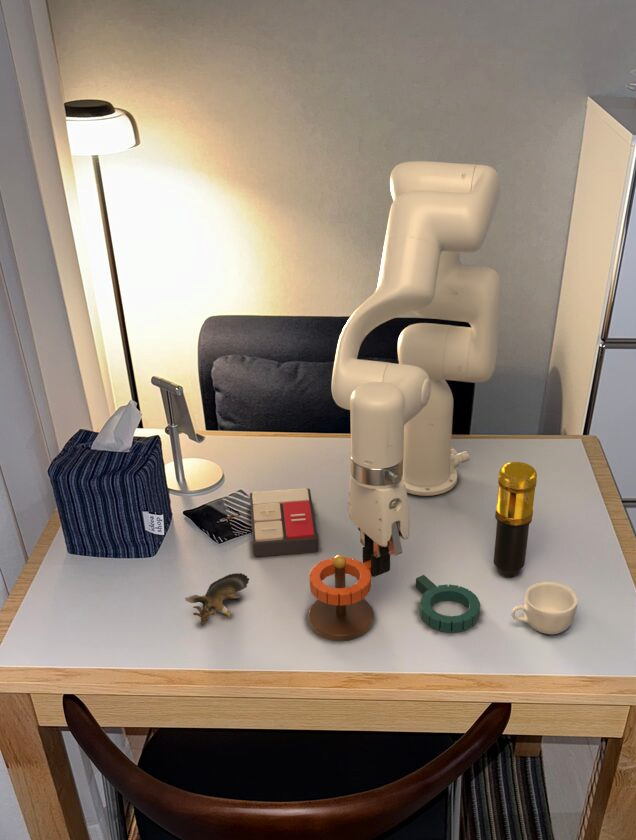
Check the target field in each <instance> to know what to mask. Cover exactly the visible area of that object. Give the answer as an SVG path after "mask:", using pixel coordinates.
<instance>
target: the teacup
mask: <svg viewBox="0 0 636 840" xmlns="http://www.w3.org/2000/svg"><path fill="white" fill-rule="evenodd" d="M578 602H579V599H578V594H577V593H576V592H575V591H574V590H573V589H572V588H571V587H569V586H568V585H565V584H563V583H559V582H555V581H540V582H536V583H534V584H532V585H530V586H529V587H528V588H527V589H526V591H525V592H524V604H520V605H516V606H514V607H513V608H512V609H511V611H510V612H511V613H510V614H511V617H512V618H513V619H514V620H516V621H519V622H523V623H524V622H525V623H528V624H529V625H530V626H531V628H533V630H535V631H537V632H539V633H541V634H545V635H557V634H561V633H564V632H565V631H566V630H567V629H568V628H569V627H571V624H572V623H573V621H574V618H575V616H576V612H577V607H578ZM518 610H522V611H523V612H524V615H523V616H517V615H515V613H516V612H517V611H518Z"/></svg>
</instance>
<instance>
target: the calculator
mask: <svg viewBox="0 0 636 840" xmlns="http://www.w3.org/2000/svg"><path fill="white" fill-rule="evenodd" d="M249 503H250V504H249V506H250V518H251V519H250V521H251V536H252V551H253V557H255V558H259V557H260V558H261V557H272V556H284V555H294V554H306V553H307V554H308V553H316V552H318V551H319V545H318V543H319V541H318V539H319V538H318V532H317V525H316V519H315V512H314V507H313V501H312V494H311V488H308V487H307V488H305V487H302V488H291V489H280V490H279V489H277V490H264V491H253V492H249Z"/></svg>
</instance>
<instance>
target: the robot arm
mask: <svg viewBox="0 0 636 840" xmlns="http://www.w3.org/2000/svg"><path fill="white" fill-rule="evenodd" d="M389 188H390V194H391V197H392V200H393V201H392V203H391V206H390V209H389V214H388V220H387V224H386V225H387V226H386V231H385V237H384V242H383V243H384V244H383V251H382V256H381V263H380V269H379V275H378V281H377V287H376V289H375V290H374V292H373V293H372V294H371V295H370V296H369V297H368V298H367V299H365V301H363V302H362V303H361V304H360V305H359V306H358V307H357V308H356V309H355V310H354V312H353V313H352V314H351V316H350V317H349V318H348V319H347V321H346V323H345V325H344V326H343V328H342V330H341V332H340V334H339V337H338V340H337V345H336V349H335V356H334V361H333V368H332V375H331V395H332V399H333V401H334V402H335V404H336V405H337V406H338V407H339V408H342V409H344V410H348V411H349V412H350V414H349V415H350V416H349V417H350V419H349V421H350V477H349V483H348V484H349V486H348V515H349V518H350V520H351V522H352V523H353V524H354V525H355V526H356V527H357V529H358V531H359V541H360V544H361V546H362V563H364V562H367V561H369V560H371V575H372V576H373V577H372V578H376V577H378V576H381V575H383V574H387V573H388V572H390V571H391V556H394V557H396V556H398V555H401V554H402V553H403V547H402V542H401V539H402V540H404V541H405V540H407V539H409V535H410V513H409V512H410V511H409V501H408V499H409V498H408V494H411V495H413V496H421V497H431V496H432V497H433V496H437V495H438V496H439V495H442V494H445V493H446V492H449V491H451V490H452V489H454V488H455V487H456V485H457V483H458V472H457V469H455V467H458V465H459V464H461V463H465V462H467V461H470V459H471V454H470V452H469V451H468V450H465V451H461V452H458V453H457V450H456V449H455V448H452V437H453V419H454V417H453V416H454V396H453V392H452V389H451V388H450V386H449V384H448V382H447V381H453V382H454V381H455V382H463V383H473V384H474V383H475V384H480V383H485V382H487V381H489V380H490V379H491V378H492V376H493V375H494V372H495V369H496V364H497V357H498V345H499V333H500V321H501V308H502V282H501V278H500V275H499V274H498V272H497V271H496V270H495V269H493V268H491V267H489V266H484V265H475V264H474V265H473V264H463V263H461V260H460V258H461V257H460V255H461V253H468V254H469V253H471V254H473V253H476V252H478V251H479V250H481V248H482V247H483V245H484V243H485V242H486V239H487V237H488V234H489V232H490V229H491V226H492V223H493V220H494V218H495V215H496V212H497V211H498V207H499V203H500V198H501V180H500V176H499V173H498V172H497V171H496V169H495V168H494V167H492V166H489V165H486V164H475V163H458V162H457V163H456V162H445V161H432V160H412V161H411V160H410V161H404V162H400V163H399V164H396V166H395V167H393V168H392V170H391V173H390V177H389ZM410 313H413V314H414V315H416V316H418V317H421V318H428V319H432V320H433V319H435V320H443V321H452V322H464V323H468V324H469V325H470V326H469V327H468V326H459V325H451V324H441V323H429V322H418V323H413V324H409V325H408V326H407V327H405V328H404V329H402V330H401V332H400V334H399V336H398V339H397V346H396V347H397V348H396V349H397V361H398V363H393V362H388V361H387V362H386V361H379V360H370V359H369V360H368V359H358V356H359V351H360V348H361V345H362V343H363V341H364V340H365V339H366V337H367V336H368V335H369V334H370V333H371V332H372V331H373V330H374V329H376V328H377V327H379V326H380V325H382V324H384V323H386V322H388V321H390V320H393V319H396V318H398V317H401V316H405V315H408V314H410Z"/></svg>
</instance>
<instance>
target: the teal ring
mask: <svg viewBox="0 0 636 840" xmlns="http://www.w3.org/2000/svg"><path fill="white" fill-rule="evenodd" d="M415 589H416V590H418V592H420V593H421V594H422V595H421V597H420V601H419V616H420V618H421V620H422V621H423V623H425V625H427V626H428V627H429V628H431V629H432V630H436V631H438V632H439V631H440V633H441V632H442V633H446V634H447V633H449V634H451V633H452V634H456V633H462V632H465V631H467V630H469V629H471V628H472V627H474V626H475V625H476V624H477V623H478V621H479V619H480V610H481V602H480V600H479V597H478V596H477V595H476V594H475V593H474V592H473V591H472V590H469V589H468V588H465V586H459V585H458V584H457V585H455V584H440V585H436V584H435V583H434V582H433V581H431V580H430V579H429V578H428V577H427V576H426V575H425V574H422V575H420V576H418V577H416V578H415ZM445 601H451V602H456V603H459V604H460V605H463V606H464V608H466V611H465V612H463V613H462V614H457V615H447V614H442V613H439V612H438V611H436V610H435V609H434V608H433V607H434V605H435V604H438V603H440V602H445Z"/></svg>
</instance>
